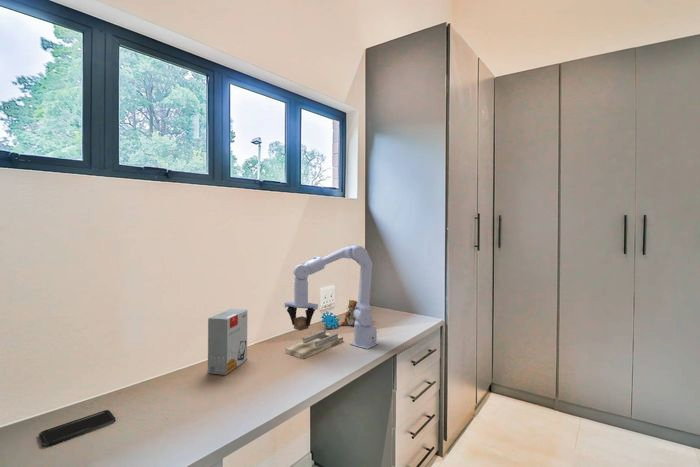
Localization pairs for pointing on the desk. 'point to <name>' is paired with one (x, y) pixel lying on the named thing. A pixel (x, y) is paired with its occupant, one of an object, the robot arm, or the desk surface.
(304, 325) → the walnut cube
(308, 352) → the channel board
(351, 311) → the stuffed squirrel
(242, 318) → the hard drive box
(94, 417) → the phone
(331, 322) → the gear
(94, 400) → the desk surface
